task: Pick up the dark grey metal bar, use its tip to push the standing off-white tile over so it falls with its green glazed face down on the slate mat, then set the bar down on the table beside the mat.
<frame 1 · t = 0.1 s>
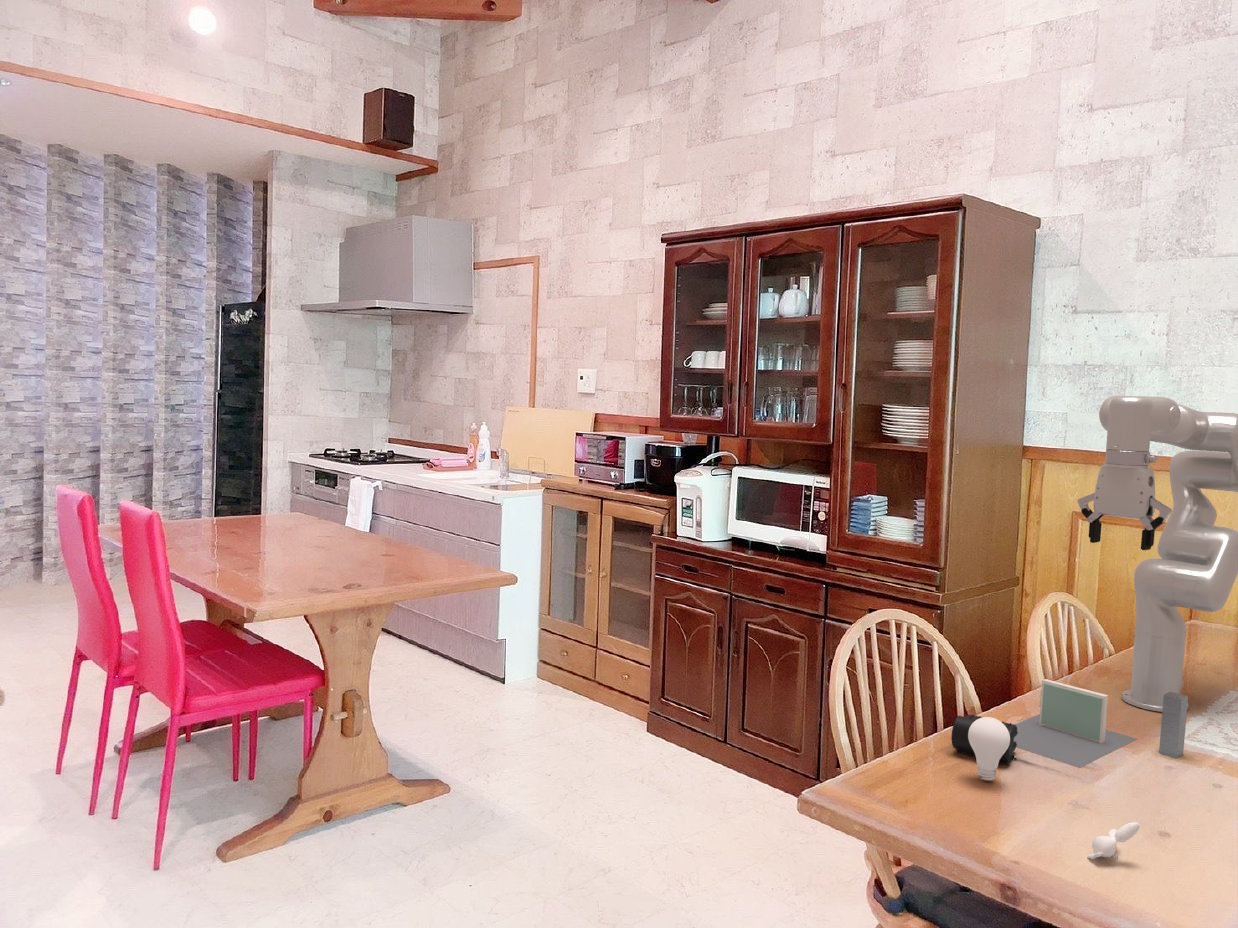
hand: (1119, 545, 187), 37 cm above the table, tool pointing down, fingers open, 9 cm apart
tile: (1070, 733, 183), point 1 cm above the table, touching mat
mat: (1060, 742, 180), on the table
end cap: (983, 758, 172), on the table
metal bar: (1170, 759, 174), on the table
rabbit figurine: (1112, 858, 136), on the table
light bulb: (985, 782, 161), on the table
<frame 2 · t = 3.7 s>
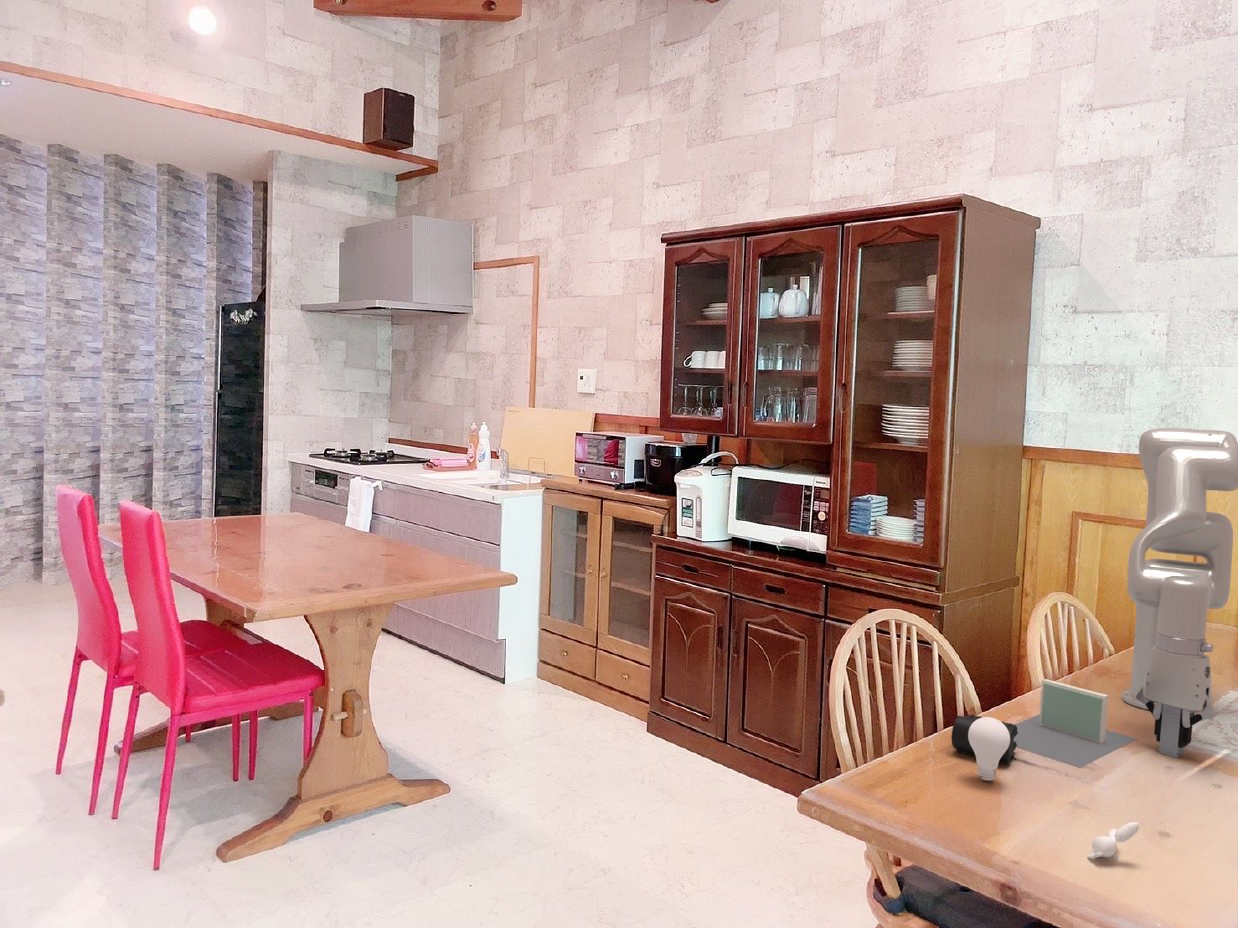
hand: (1172, 742, 174), 3 cm above the table, tool pointing down, fingers closed on metal bar, 3 cm apart
metal bar: (1170, 759, 174), on the table, touching gripper
everything else where it was.
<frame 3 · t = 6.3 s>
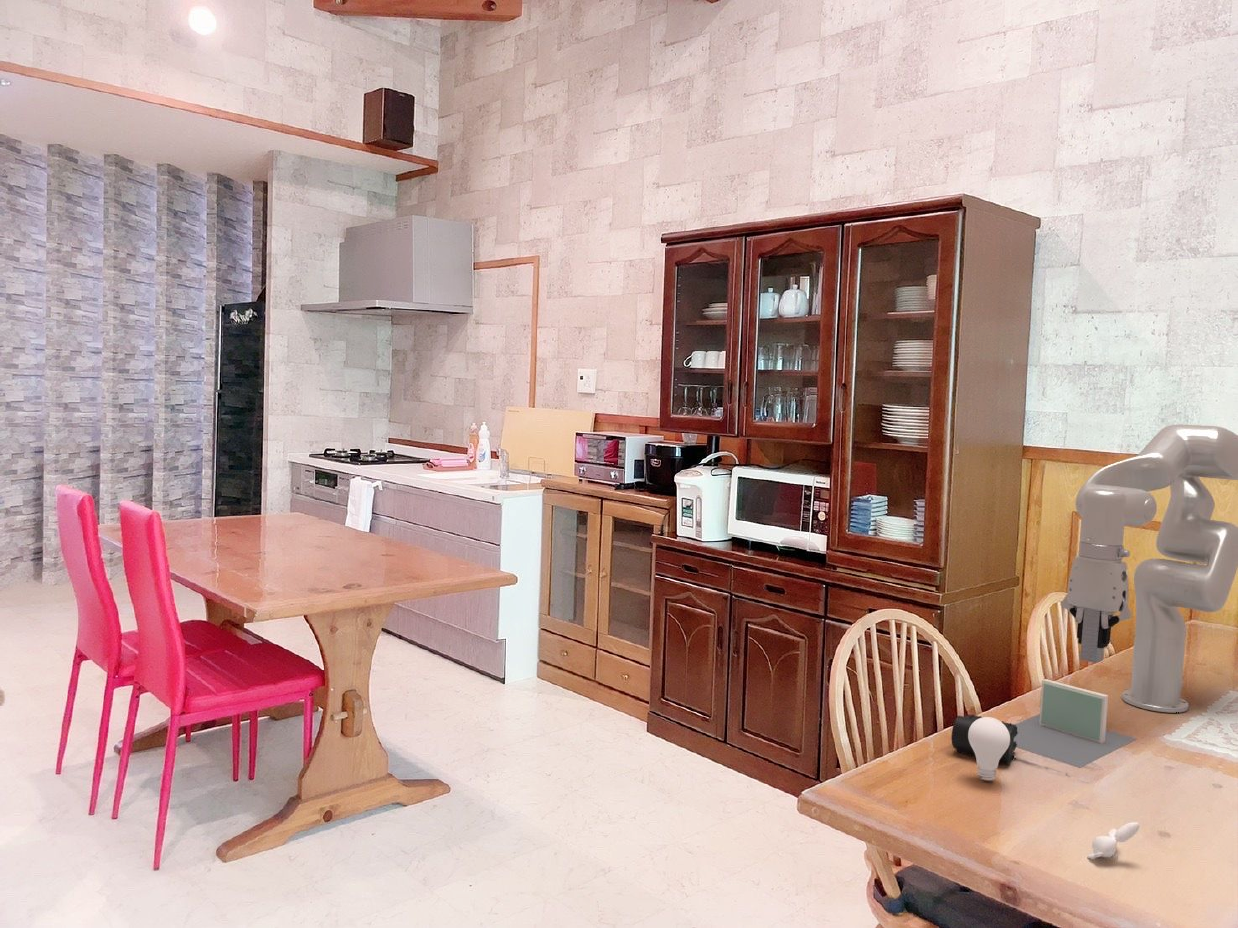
hand: (1092, 644, 186), 18 cm above the table, tool pointing down, fingers closed on metal bar, 3 cm apart
metal bar: (1091, 660, 186), point 14 cm above the table, touching gripper
everything else where it was.
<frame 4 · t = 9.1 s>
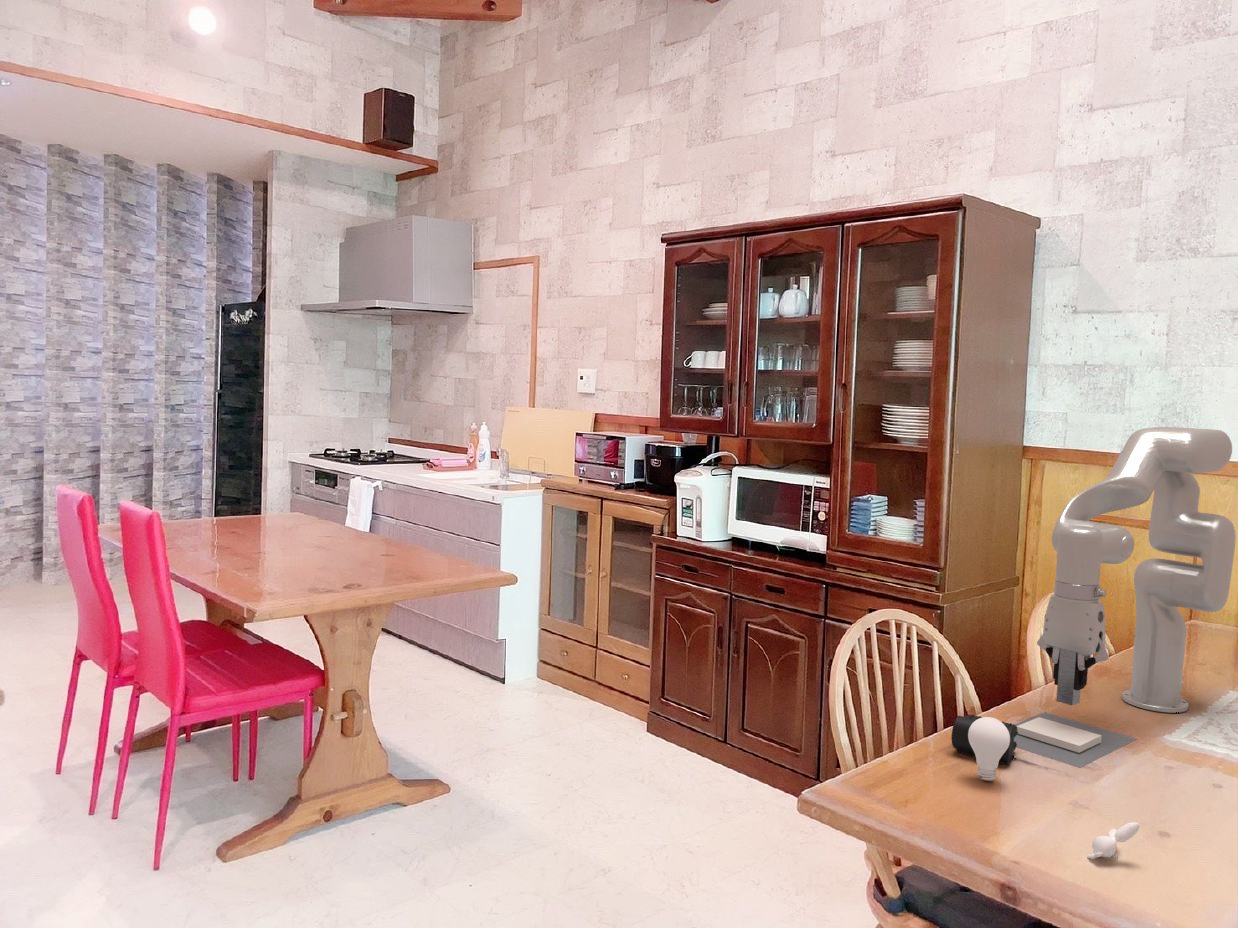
hand: (1069, 685, 181), 11 cm above the table, tool pointing down, fingers closed on metal bar, 3 cm apart
tile: (1069, 730, 182), point 2 cm above the table, tilted 90°, touching mat
metal bar: (1067, 701, 181), point 8 cm above the table, touching gripper
everything else where it was.
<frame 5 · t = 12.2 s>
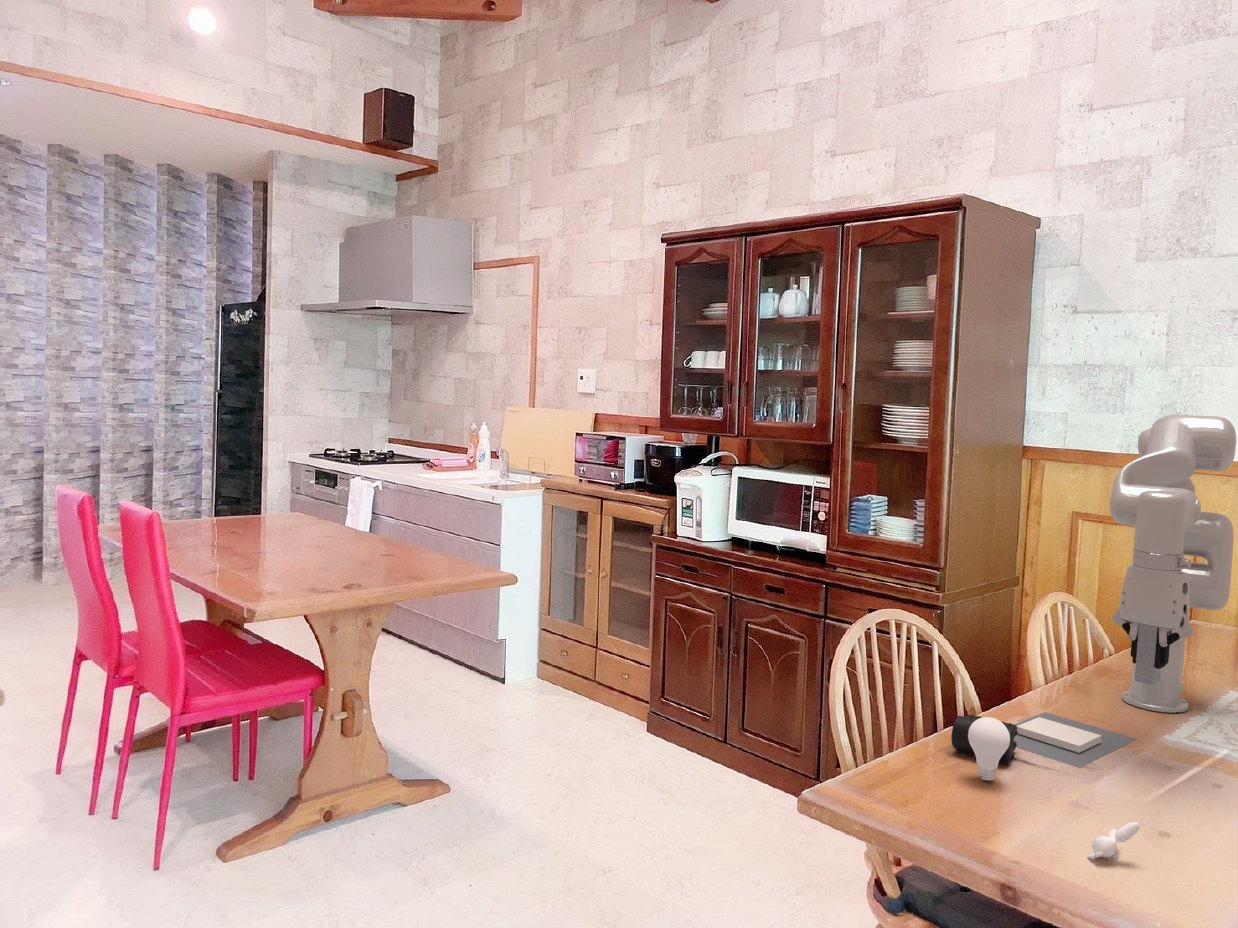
hand: (1148, 663, 167), 19 cm above the table, tool pointing down, fingers closed on metal bar, 3 cm apart
metal bar: (1147, 681, 167), point 16 cm above the table, touching gripper
everything else where it was.
when the fingers open (4 cm above the table, at t = 15.4 s): metal bar stays where it is, on the table.
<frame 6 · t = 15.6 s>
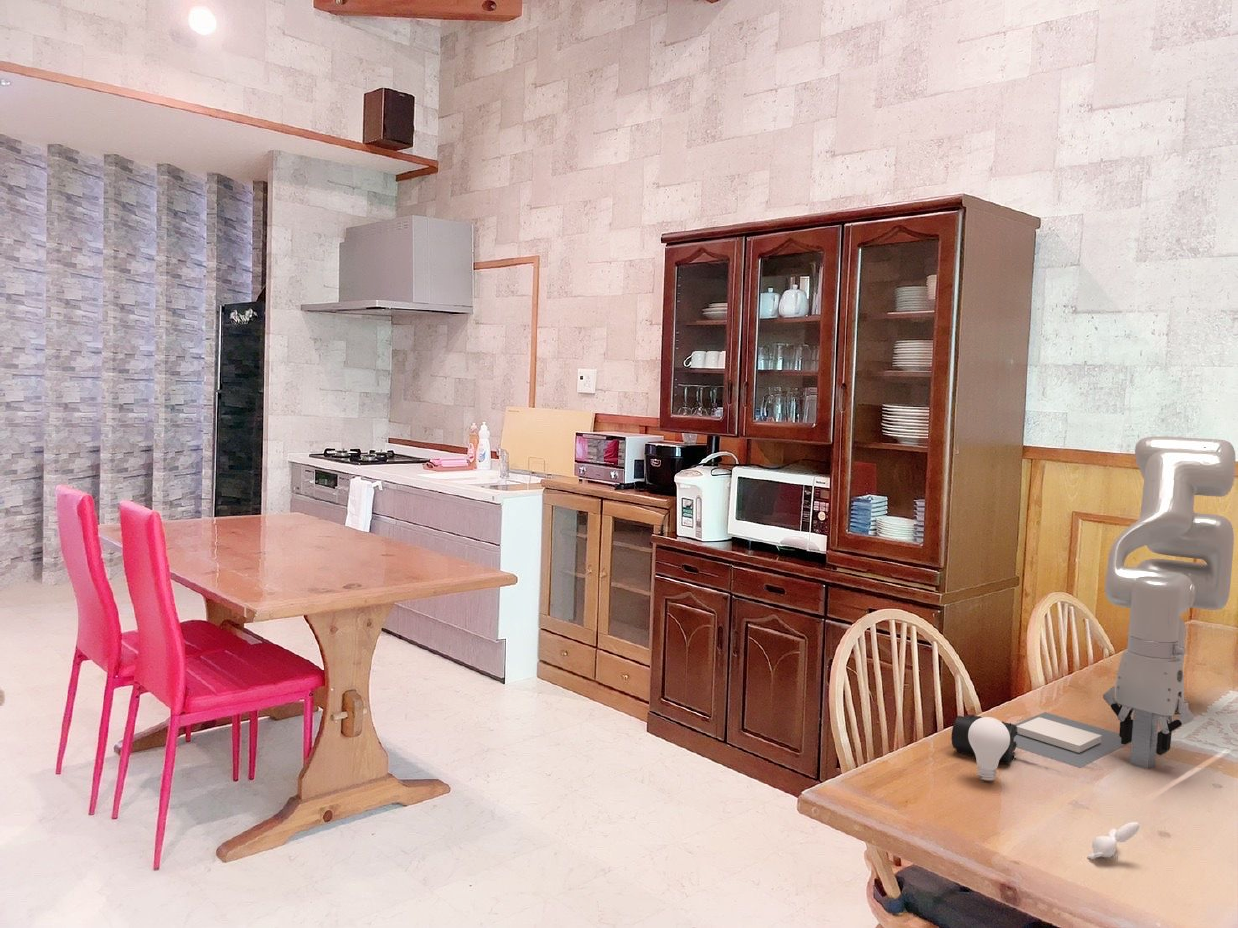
hand: (1143, 746, 168), 4 cm above the table, tool pointing down, fingers open, 5 cm apart
metal bar: (1142, 769, 168), on the table
everything else where it was.
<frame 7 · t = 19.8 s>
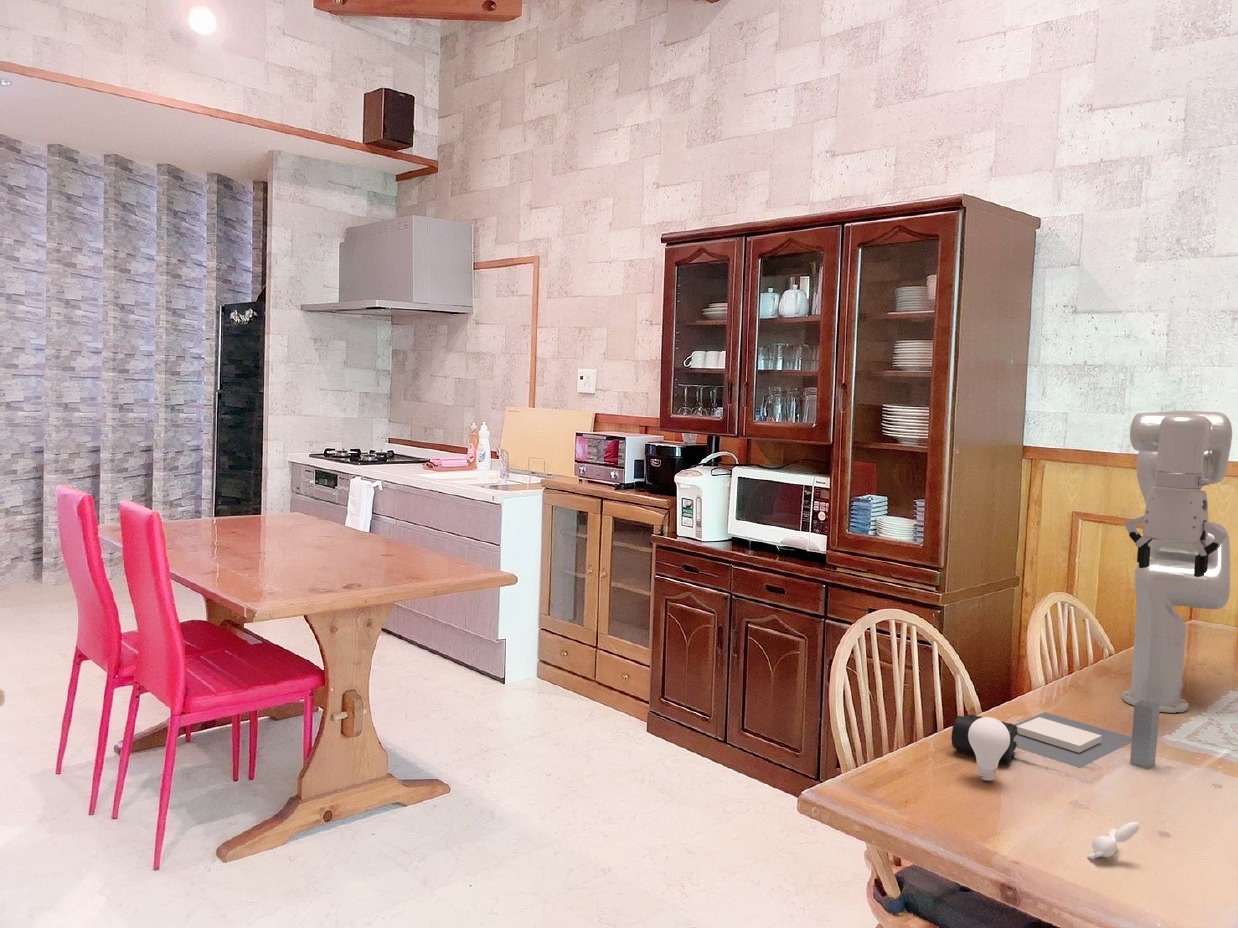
hand: (1170, 571, 179), 33 cm above the table, tool pointing down, fingers open, 9 cm apart
nothing on the table moved.
at the end: tile tilted 90°; tile inside the target area (3.7 cm from its centre), point 1.8 cm above the table; metal bar inside the target area (0.5 cm from its centre), on the table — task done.
